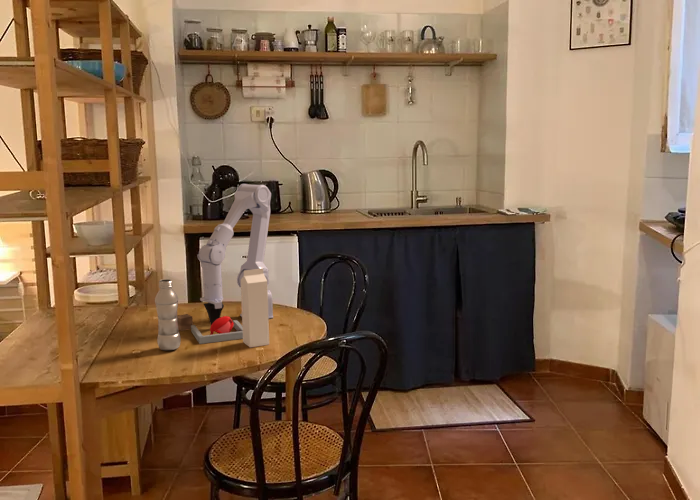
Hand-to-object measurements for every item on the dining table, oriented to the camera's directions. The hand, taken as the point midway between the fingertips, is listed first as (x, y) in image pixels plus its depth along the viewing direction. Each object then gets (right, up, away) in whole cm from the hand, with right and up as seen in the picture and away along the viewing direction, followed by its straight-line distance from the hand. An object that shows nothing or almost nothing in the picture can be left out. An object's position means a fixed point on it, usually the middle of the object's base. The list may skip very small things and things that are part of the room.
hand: (214, 325), depth 216 cm
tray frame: (+2, -2, -6) cm, 6 cm away
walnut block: (-10, -1, +2) cm, 10 cm away
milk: (+15, -4, -15) cm, 21 cm away
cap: (+4, -3, -7) cm, 9 cm away
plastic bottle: (-9, -5, -19) cm, 22 cm away
